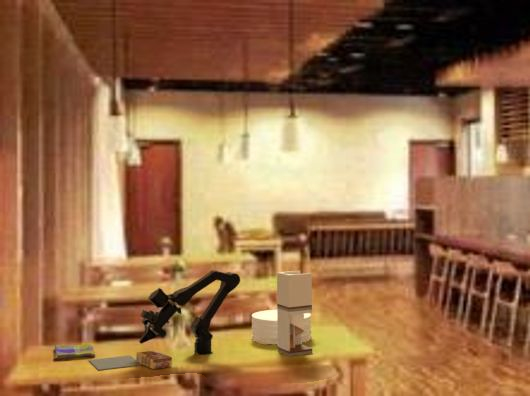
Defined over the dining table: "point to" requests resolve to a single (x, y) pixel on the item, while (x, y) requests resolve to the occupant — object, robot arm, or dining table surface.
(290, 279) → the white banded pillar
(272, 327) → the plate stack
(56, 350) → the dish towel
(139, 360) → the candy box
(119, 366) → the mat
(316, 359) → the dining table surface
